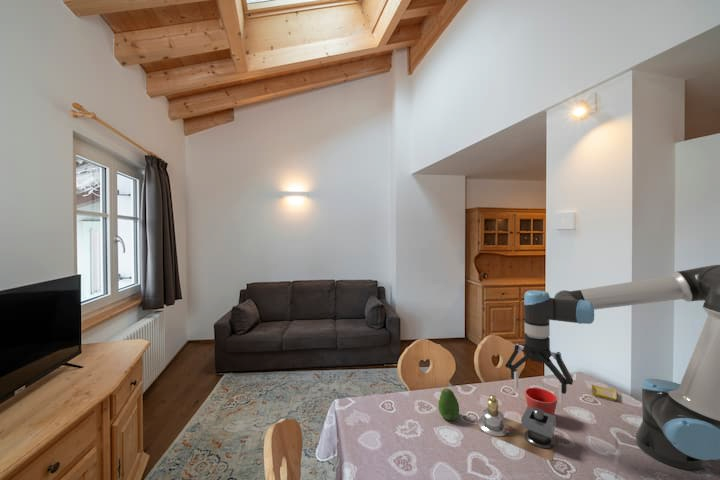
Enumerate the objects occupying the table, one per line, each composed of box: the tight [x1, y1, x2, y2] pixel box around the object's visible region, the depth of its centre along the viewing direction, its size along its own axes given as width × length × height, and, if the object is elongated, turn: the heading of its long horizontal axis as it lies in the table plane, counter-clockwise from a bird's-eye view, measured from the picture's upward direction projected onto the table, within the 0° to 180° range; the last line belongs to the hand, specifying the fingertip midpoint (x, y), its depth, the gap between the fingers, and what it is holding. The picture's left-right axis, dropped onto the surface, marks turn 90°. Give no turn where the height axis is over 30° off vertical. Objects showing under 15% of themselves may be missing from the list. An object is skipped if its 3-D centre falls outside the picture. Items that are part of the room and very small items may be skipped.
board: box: [473, 415, 559, 462], centre depth 106 cm, size 25×14×1 cm, turn 48°
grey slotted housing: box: [520, 406, 557, 438], centre depth 102 cm, size 9×9×3 cm
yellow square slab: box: [590, 384, 618, 402], centre depth 129 cm, size 9×9×2 cm
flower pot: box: [524, 387, 558, 416], centre depth 115 cm, size 11×11×10 cm
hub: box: [477, 394, 510, 438], centre depth 109 cm, size 11×11×12 cm
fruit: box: [438, 387, 460, 421], centre depth 116 cm, size 8×8×12 cm
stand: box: [525, 408, 555, 449], centre depth 102 cm, size 9×9×10 cm
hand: (537, 394), depth 102 cm, fingers open, 13 cm apart
